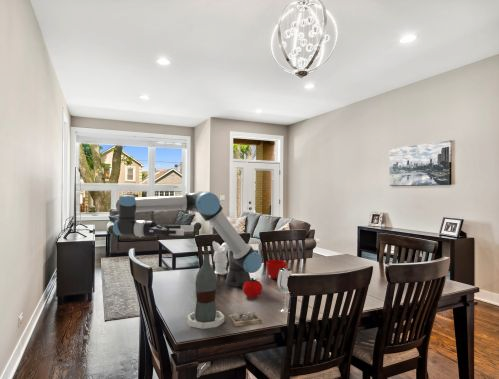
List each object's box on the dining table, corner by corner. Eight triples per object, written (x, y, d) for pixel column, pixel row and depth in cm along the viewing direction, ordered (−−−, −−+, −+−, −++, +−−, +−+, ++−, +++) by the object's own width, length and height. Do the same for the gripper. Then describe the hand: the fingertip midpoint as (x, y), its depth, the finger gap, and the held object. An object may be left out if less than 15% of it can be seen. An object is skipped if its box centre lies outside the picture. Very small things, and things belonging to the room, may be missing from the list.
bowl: (217, 313, 155) (218, 308, 155) (227, 326, 141) (227, 320, 141) (185, 317, 150) (185, 311, 150) (191, 331, 136) (191, 325, 136)
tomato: (239, 295, 182) (240, 276, 182) (257, 293, 186) (257, 275, 186) (246, 301, 172) (247, 282, 172) (265, 299, 176) (265, 280, 176)
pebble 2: (246, 319, 147) (247, 313, 147) (249, 322, 144) (249, 315, 144) (240, 320, 146) (240, 313, 146) (242, 323, 143) (242, 316, 143)
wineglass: (275, 308, 162) (275, 267, 162) (291, 308, 163) (291, 267, 163) (277, 315, 155) (278, 271, 154) (294, 314, 155) (295, 271, 155)
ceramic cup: (280, 283, 206) (281, 266, 205) (261, 277, 218) (262, 261, 218) (294, 279, 214) (295, 263, 214) (275, 273, 227) (276, 259, 227)
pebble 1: (238, 318, 148) (238, 311, 148) (241, 321, 146) (241, 314, 145) (232, 319, 147) (232, 312, 147) (234, 322, 144) (234, 315, 144)
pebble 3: (252, 317, 150) (252, 310, 150) (254, 319, 148) (254, 312, 147) (245, 317, 149) (245, 311, 149) (248, 320, 146) (248, 313, 146)
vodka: (197, 316, 150) (197, 249, 150) (217, 316, 150) (218, 249, 150) (192, 324, 141) (193, 253, 140) (214, 325, 141) (215, 253, 140)
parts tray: (253, 316, 153) (253, 311, 153) (261, 324, 144) (261, 319, 144) (228, 319, 148) (228, 315, 148) (234, 327, 140) (234, 323, 140)
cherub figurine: (226, 271, 232) (227, 239, 232) (232, 275, 221) (233, 242, 221) (209, 272, 228) (210, 239, 228) (214, 277, 216) (215, 242, 216)
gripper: (157, 232, 172) (197, 234, 169) (132, 240, 148) (178, 242, 144) (157, 218, 172) (197, 219, 169) (132, 223, 148) (178, 225, 144)
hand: (188, 230), depth 157 cm, fingers open, 13 cm apart
